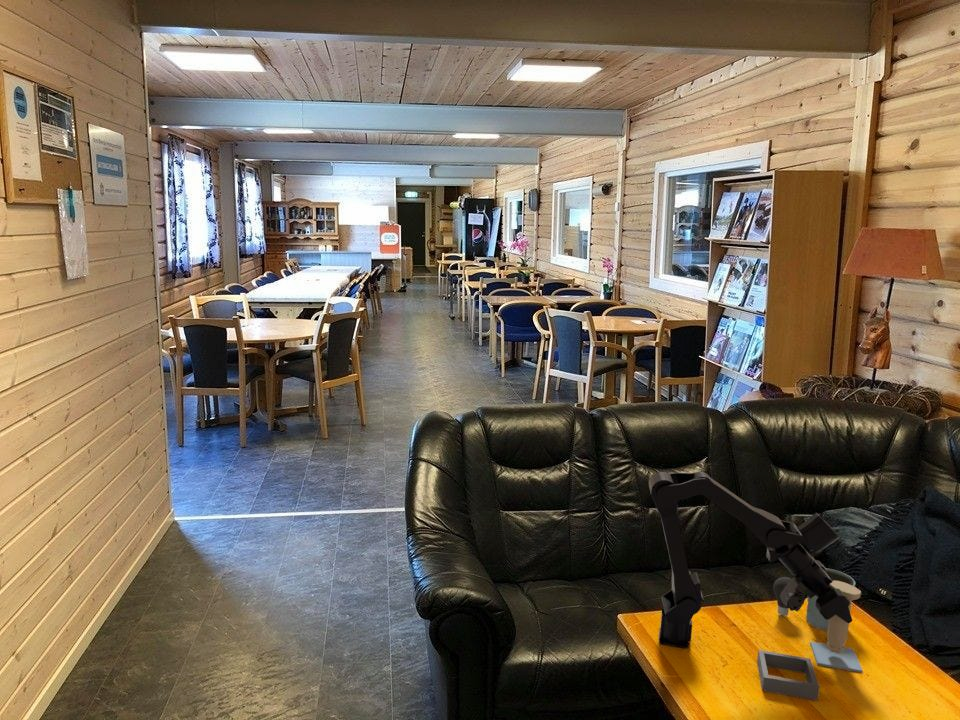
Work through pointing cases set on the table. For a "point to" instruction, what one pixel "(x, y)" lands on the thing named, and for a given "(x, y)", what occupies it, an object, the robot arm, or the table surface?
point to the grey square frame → (782, 684)
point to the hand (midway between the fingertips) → (846, 616)
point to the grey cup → (812, 611)
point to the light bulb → (777, 589)
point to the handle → (838, 625)
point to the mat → (835, 657)
